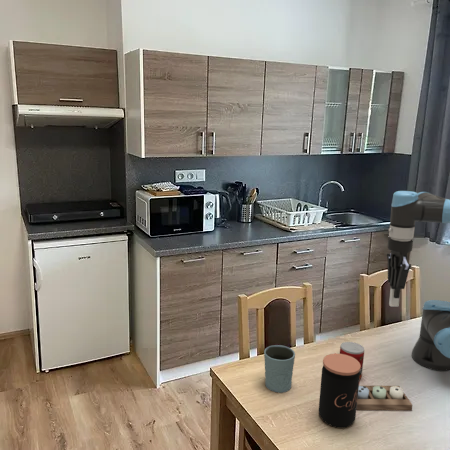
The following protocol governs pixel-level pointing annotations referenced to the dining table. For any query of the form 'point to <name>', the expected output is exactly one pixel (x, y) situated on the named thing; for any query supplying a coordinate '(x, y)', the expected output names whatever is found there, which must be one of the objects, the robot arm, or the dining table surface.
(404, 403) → the button board
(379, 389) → the two-pip button
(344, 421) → the coffee jar
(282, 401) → the dining table surface
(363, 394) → the three-pip button
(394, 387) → the one-pip button
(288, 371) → the teal cup
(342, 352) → the canned food
